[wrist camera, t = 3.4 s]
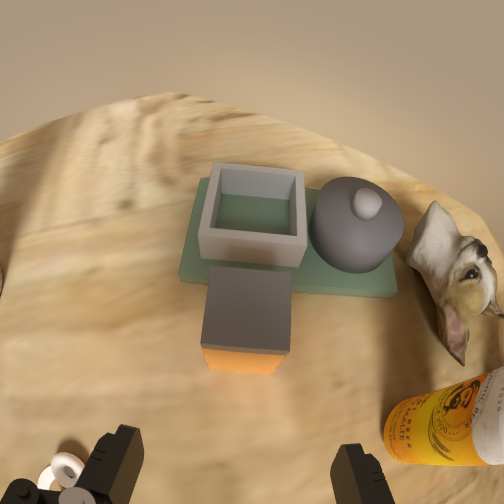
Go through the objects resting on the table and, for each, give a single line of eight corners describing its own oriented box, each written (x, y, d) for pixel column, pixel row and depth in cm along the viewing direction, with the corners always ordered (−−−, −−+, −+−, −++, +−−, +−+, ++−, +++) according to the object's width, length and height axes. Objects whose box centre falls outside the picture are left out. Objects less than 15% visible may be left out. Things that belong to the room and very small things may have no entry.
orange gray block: (209, 368, 23) (200, 343, 16) (215, 311, 26) (211, 265, 19) (271, 373, 23) (289, 350, 16) (274, 316, 26) (291, 272, 19)
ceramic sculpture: (465, 178, 25) (540, 294, 20) (428, 223, 33) (490, 323, 27) (410, 204, 22) (502, 355, 16) (370, 254, 30) (442, 375, 24)
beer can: (401, 386, 23) (529, 329, 10) (443, 416, 21) (572, 377, 8) (366, 444, 20) (500, 438, 7) (413, 472, 18) (548, 472, 6)
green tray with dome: (180, 281, 27) (168, 235, 21) (201, 187, 33) (197, 136, 27) (391, 298, 27) (428, 261, 21) (374, 207, 34) (398, 163, 28)
